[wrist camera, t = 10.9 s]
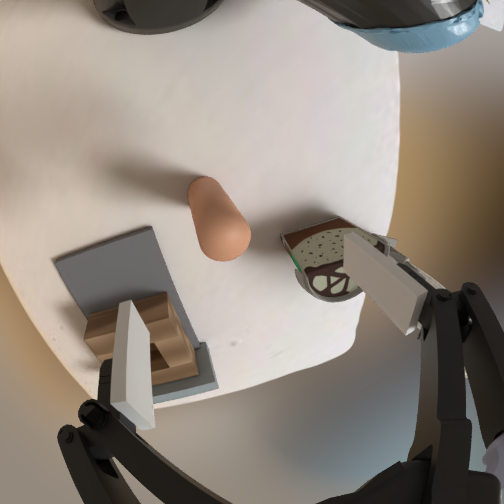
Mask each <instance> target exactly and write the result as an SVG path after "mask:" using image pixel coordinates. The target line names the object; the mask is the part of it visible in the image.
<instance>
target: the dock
mask: <svg viewBox="0 0 504 504" xmlns="http://www.w3.org/2000/svg"><path fill="white" fill-rule="evenodd" d="M54 264H55V266H56V268H57V269H58V271H59V273H60V275H61V277H62V279H63V280H64V282H65V284H66V286H67V287H68V289H69V291H70V293H71V294H72V296H73V298H74V299H75V301H76V303H77V304H78V306H79V307H80V309H81V311H82V312H83V314H84V315H85V317H86V318H87V320H88V319H89V315H90V314H92V313H96V312H100V311H103V310H107V309H110V308H114V307H117V306H119V303H122V302H125V301H128V300H132V302H135V301H138V300H142V299H145V298H149V297H152V296H155V295H159V294H162V293H166V292H167V293H168V295H169V297H170V300H171V302H172V304H173V306H174V309H175V311H176V313H177V315H178V317H179V319H180V321H181V324H182V326H183V328H184V330H185V332H186V334H187V336H188V338H189V340H190V342H191V344H192V346H193V348H194V351H195V356H196V361H197V366H198V371H199V375H196V376H192V377H188V378H184V379H180V380H176V381H172V382H167V383H163V384H159V385H154V386H152V397H153V404H156V403H161V402H165V401H170V400H175V399H179V398H183V397H188V396H192V395H196V394H200V393H204V392H207V391H211V390H215V389H218V388H219V387H218V383H217V379H216V375H215V372H214V368H213V364H212V360H211V356H210V352H209V348H208V346H207V344H206V342H204V343H201V344H200V343H199V341H198V339H197V337H196V335H195V332H194V330H193V328H192V326H191V324H190V321H189V319H188V317H187V315H186V312H185V310H184V308H183V305H182V303H181V301H180V298H179V296H178V293H177V291H176V289H175V286H174V284H173V281H172V279H171V276H170V274H169V271H168V269H167V266H166V263H165V261H164V258H163V256H162V253H161V250H160V247H159V245H158V242H157V239H156V236H155V234H154V231H153V228H152V226H151V227H148V228H145V229H142V230H139V231H136V232H133V233H130V234H127V235H124V236H121V237H118V238H115V239H112V240H109V241H106V242H103V243H100V244H97V245H95V246H92V247H89V248H86V249H83V250H81V251H78V252H75V253H72V254H70V255H67V256H64V257H62V258H59V259H57V260H56V261H55V263H54Z"/></svg>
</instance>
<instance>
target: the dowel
mask: <svg viewBox="0 0 504 504" xmlns="http://www.w3.org/2000/svg"><path fill="white" fill-rule="evenodd" d="M187 195H188V201H189V205H190V209H191V213H192V217H193V221H194V225H195V229H196V233H197V237H198V241H199V244H200V247H201V250H202V251H203V253H204V254H205V255H206V256H207V257H209V258H211V259H213V260H216V261H229V260H233V259H235V258H237V257H238V256H240V255H241V254H242V253H243V252H244V251H245V250H246V249H247V247H248V245H249V243H250V240H251V230H250V227H249V225H248V223H247V222H246V220H245V219H244V217H243V216H242V215H241V213H240V212H239V210H238V209H237V208H236V206H235V205H234V203H233V202H232V201H231V199H230V198H229V197H228V195H227V194H226V192H225V191H224V190H223V188H222V187H221V185H220V184H219V183H218V182H217V181H216V180H215V179H213V178H211V177H200V178H198V179H196V180H195V181H193V182H192V183H191V185H190V186H189V189H188V193H187Z"/></svg>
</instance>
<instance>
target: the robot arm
mask: <svg viewBox="0 0 504 504" xmlns="http://www.w3.org/2000/svg"><path fill="white" fill-rule="evenodd" d="M93 1H94V4H95V7H96V9H97V10H98V12H99V13H100V15H101V16H102V17H103V19H104V20H105V21H106V22H107V23H109V24H110V25H112V26H113V27H115V28H117V29H119V30H122V31H125V32H129V33H134V34H144V35H151V34H162V33H168V32H173V31H177V30H180V29H183V28H186V27H188V26H191V25H193V24H195V23H197V22H199V21H201V20H202V19H204V18H206V17H207V16H208V15H210V14H211V13H212V12H213V11H215V10H216V9H217V8H218V7H219V5H220V4H221V3H222V2H223V0H93ZM297 1H300V2H302V3H304V4H305V5H307V6H309V7H311V8H313V9H315V10H316V11H318V12H320V13H322V14H323V15H325V16H327V17H328V19H330V20H331V21H332V22H334V23H335V24H337V25H338V26H340V27H342V28H344V29H347V30H350V31H352V32H354V33H356V34H357V35H359V36H361V37H362V38H364V39H365V40H367V41H368V42H370V43H371V44H373V45H375V46H377V47H380V48H382V49H385V50H389V51H399V52H403V53H424V52H431V51H436V50H440V49H443V48H446V47H449V46H452V45H454V44H456V43H458V42H460V41H462V40H464V39H465V38H467V37H468V36H470V35H471V34H472V33H473V32H474V31H475V30H476V29H477V28H478V26H479V25H480V21H479V19H478V18H482V17H483V13H484V7H483V3H482V0H297ZM343 271H344V272H345V273H346V274H347V275H348V276H349V277H350V278H351V279H352V280H353V281H354V282H355V283H356V284H357V285H358V286H359V287H360V288H361V289H362V290H363V291H364V292H365V293H366V294H367V295H368V296H369V297H370V298H371V299H372V300H373V301H374V302H375V303H376V305H377V306H378V307H379V308H380V309H381V310H382V311H383V312H384V313H385V314H386V315H387V316H388V317H389V318H390V319H391V320H392V321H393V322H394V324H395V325H396V326H397V327H398V328H399V329H400V330H401V331H402V332H403V333H404V334H405V335H407V334H409V333H411V332H412V331H414V330H415V329H416V327H417V324H418V322H419V323H420V324H421V325H422V326H421V329H420V332H419V334H418V338H417V339H419V338H420V336H421V374H420V393H419V405H418V414H417V424H416V430H415V437H414V441H413V444H412V446H411V448H410V451H409V454H408V458H407V462H403V463H401V462H400V461H399V462H397V463H395V464H394V465H392V466H390V467H389V468H387V469H386V470H384V471H382V472H381V473H379V474H377V475H376V476H375V477H373V478H372V479H370V480H369V481H367V482H366V483H365V484H364V485H363V486H361V487H360V488H359V489H357V490H356V491H355V492H354V493H350V494H345V495H341V496H337V497H332V498H329V499H326V500H324V501H321V502H319V503H317V504H502V489H503V488H504V332H503V330H502V328H501V326H500V324H499V322H498V320H497V318H496V316H495V314H494V312H493V310H492V308H491V307H490V305H489V303H488V301H487V299H486V298H485V296H484V294H483V292H482V291H481V289H480V288H479V287H478V286H477V285H476V284H474V283H471V282H467V283H464V284H463V285H462V288H461V291H457V292H453V293H451V292H450V291H448V290H447V289H443V288H439V289H435V288H434V287H433V286H432V285H430V284H429V283H428V282H427V281H426V280H424V279H423V278H422V277H421V276H419V275H418V274H417V273H416V272H414V271H413V270H412V269H411V268H410V267H408V266H407V265H404V264H402V263H397V264H395V263H394V262H393V261H392V260H390V259H389V258H388V257H386V256H385V255H384V254H383V253H381V252H380V251H379V250H377V249H376V248H375V247H374V246H372V245H371V244H370V243H368V242H367V241H366V240H364V239H363V238H362V237H360V236H359V235H358V234H356V233H355V232H352V233H348V234H345V235H344V264H343ZM470 319H471V320H470ZM471 321H472V322H471ZM464 367H465V369H464ZM465 370H466V373H467V376H468V380H469V383H470V387H471V390H472V394H473V398H474V402H475V406H476V410H477V415H478V419H479V425H480V430H481V434H482V438H483V441H484V444H485V447H486V449H487V451H486V454H485V455H484V456H483V463H484V464H485V465H487V468H486V471H485V472H479V471H471V470H468V468H469V461H470V451H471V438H472V423H471V420H469V419H467V418H466V389H465V388H466V387H465ZM99 377H100V378H99V385H98V398H97V400H95V399H90V400H87V401H85V402H84V403H83V404H82V405H81V406H80V408H79V411H78V417H79V419H80V421H81V422H82V423H83V424H85V425H83V426H81V427H78V428H75V427H74V426H72V425H65V426H63V427H62V428H61V429H60V430H59V432H58V436H57V438H58V443H59V446H60V449H61V451H62V454H63V457H64V460H65V462H66V465H67V467H68V469H69V472H70V475H71V477H72V479H73V481H74V484H75V486H76V488H77V490H78V492H79V494H80V496H81V498H82V500H83V502H84V504H141V503H140V502H139V501H138V499H137V498H136V496H135V495H134V494H133V492H132V490H131V489H130V487H129V486H128V484H127V483H126V481H125V479H124V478H123V476H122V474H121V473H120V471H119V469H118V468H117V466H116V464H115V462H114V461H113V459H112V457H115V458H116V459H117V460H118V461H119V462H120V463H121V464H122V465H123V466H124V467H125V468H126V469H127V470H128V471H129V472H130V473H131V474H132V475H133V476H134V477H135V478H136V479H137V480H138V481H139V482H140V483H141V484H142V485H144V486H145V487H146V488H147V489H148V490H149V491H150V492H151V493H153V494H154V495H155V496H156V497H157V498H159V499H160V500H161V501H162V502H163V503H165V504H232V503H230V502H229V501H227V500H225V499H224V498H222V497H220V496H219V495H217V494H215V493H213V492H212V491H210V490H209V489H207V488H206V487H204V486H203V485H201V484H200V483H198V482H197V481H196V480H194V479H192V478H191V477H190V476H188V475H187V474H185V473H184V472H183V471H182V470H180V469H179V468H178V467H176V466H175V465H174V464H172V463H171V462H170V461H168V460H167V459H166V458H164V456H162V455H161V454H160V453H159V452H157V451H156V450H155V449H154V448H153V447H152V446H150V445H149V444H148V443H147V442H146V441H145V440H144V439H143V438H141V437H140V436H139V435H138V434H137V433H136V427H138V428H139V429H140V430H147V429H153V428H155V419H154V409H153V397H152V383H151V365H150V333H149V331H148V329H147V328H146V326H145V324H144V322H143V320H142V319H141V317H140V315H139V313H138V311H137V310H136V308H135V306H134V304H133V302H132V300H128V301H125V302H122V303H119V310H118V317H117V324H116V332H115V341H114V351H113V358H111V359H106V360H104V361H103V363H102V365H101V368H100V374H99Z"/></svg>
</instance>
